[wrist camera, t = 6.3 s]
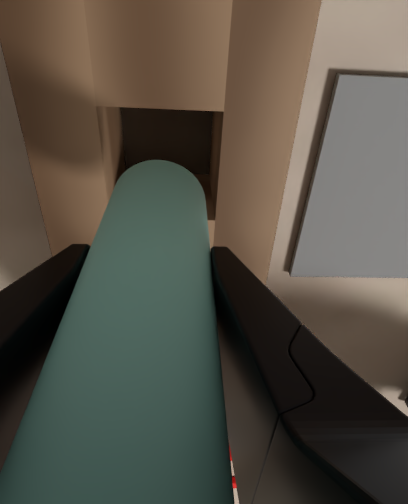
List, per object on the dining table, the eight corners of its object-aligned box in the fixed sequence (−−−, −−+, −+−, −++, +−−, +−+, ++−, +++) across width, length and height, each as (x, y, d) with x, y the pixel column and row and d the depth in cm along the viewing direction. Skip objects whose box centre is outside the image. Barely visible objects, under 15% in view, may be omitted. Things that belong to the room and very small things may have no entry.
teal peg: (203, 244, 12) (235, 709, 4) (117, 242, 12) (-27, 724, 4) (208, 161, 11) (277, 674, 2) (107, 158, 10) (-174, 699, 2)
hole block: (286, -10, 15) (324, -15, 11) (231, 359, 29) (239, 419, 24) (40, -26, 14) (-19, -37, 10) (105, 359, 28) (92, 421, 24)
